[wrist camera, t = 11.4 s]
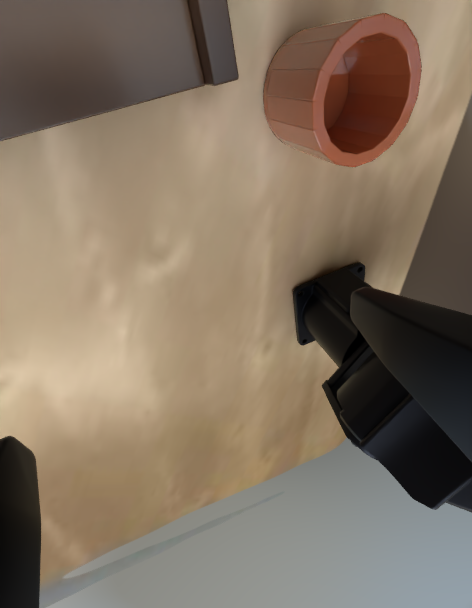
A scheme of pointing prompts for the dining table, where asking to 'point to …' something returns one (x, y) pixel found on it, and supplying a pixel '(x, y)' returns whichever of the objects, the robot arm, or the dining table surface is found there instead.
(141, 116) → the dining table surface
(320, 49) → the pen cup
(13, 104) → the dark wooden box
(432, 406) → the robot arm
